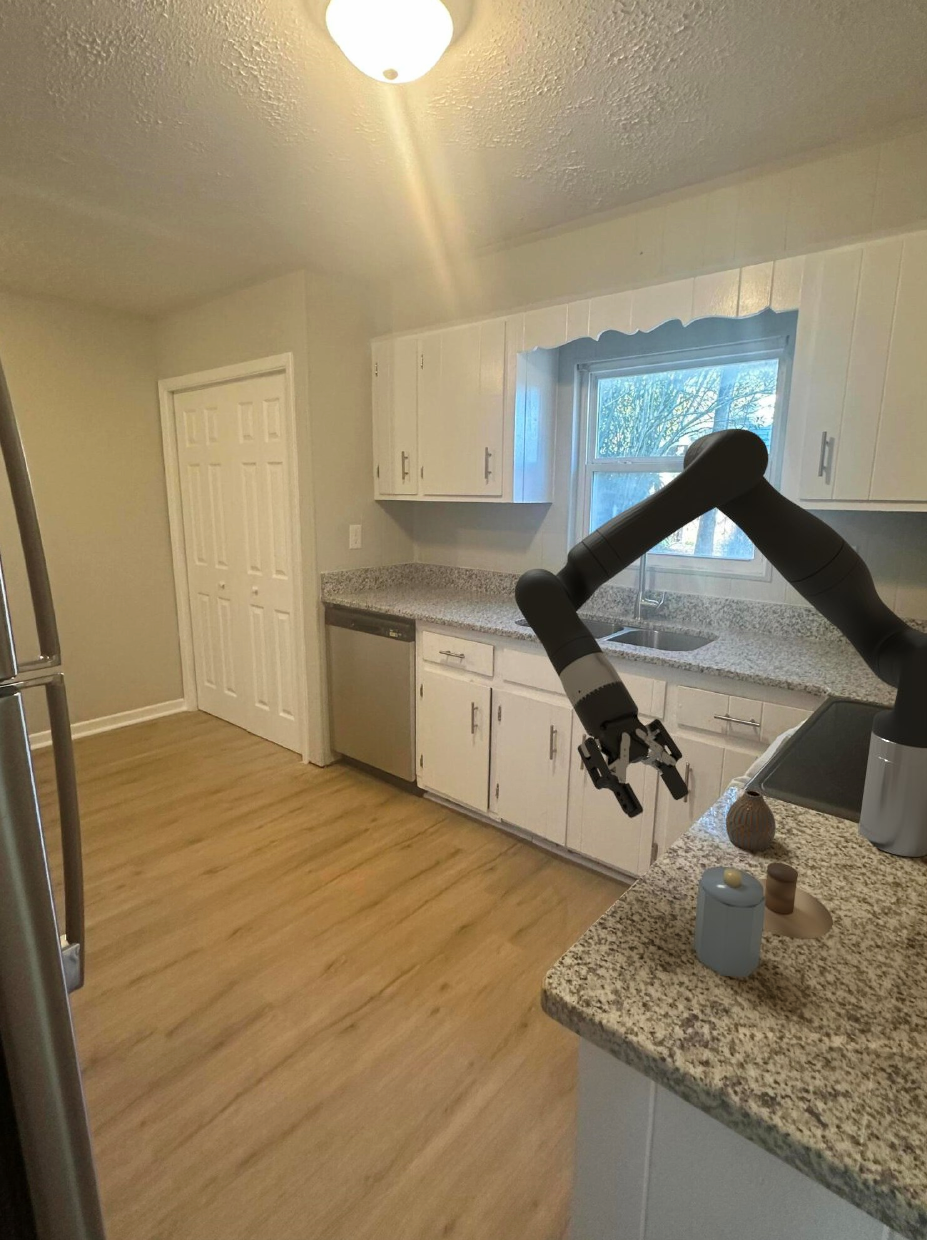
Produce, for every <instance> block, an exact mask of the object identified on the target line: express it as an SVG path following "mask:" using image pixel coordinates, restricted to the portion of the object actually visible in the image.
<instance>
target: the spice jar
mask: <svg viewBox="0 0 927 1240" xmlns="http://www.w3.org/2000/svg"><path fill="white" fill-rule="evenodd" d="M765 879H766V889H765V898H766V901H765V906H766V907H767V908H768V909H769V910H771V911H772V912H775V913H777V914H782V915H789V914H791V913H793V910H794V902H795V893H796V887H797V884H798V883H797V882H798V880H799V872H798V871H797V870H796V869H795V868H794V867H792V866H791V865H789V864H786V863H782V862H771V863H769V864H767V867H766V878H765Z"/></svg>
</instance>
